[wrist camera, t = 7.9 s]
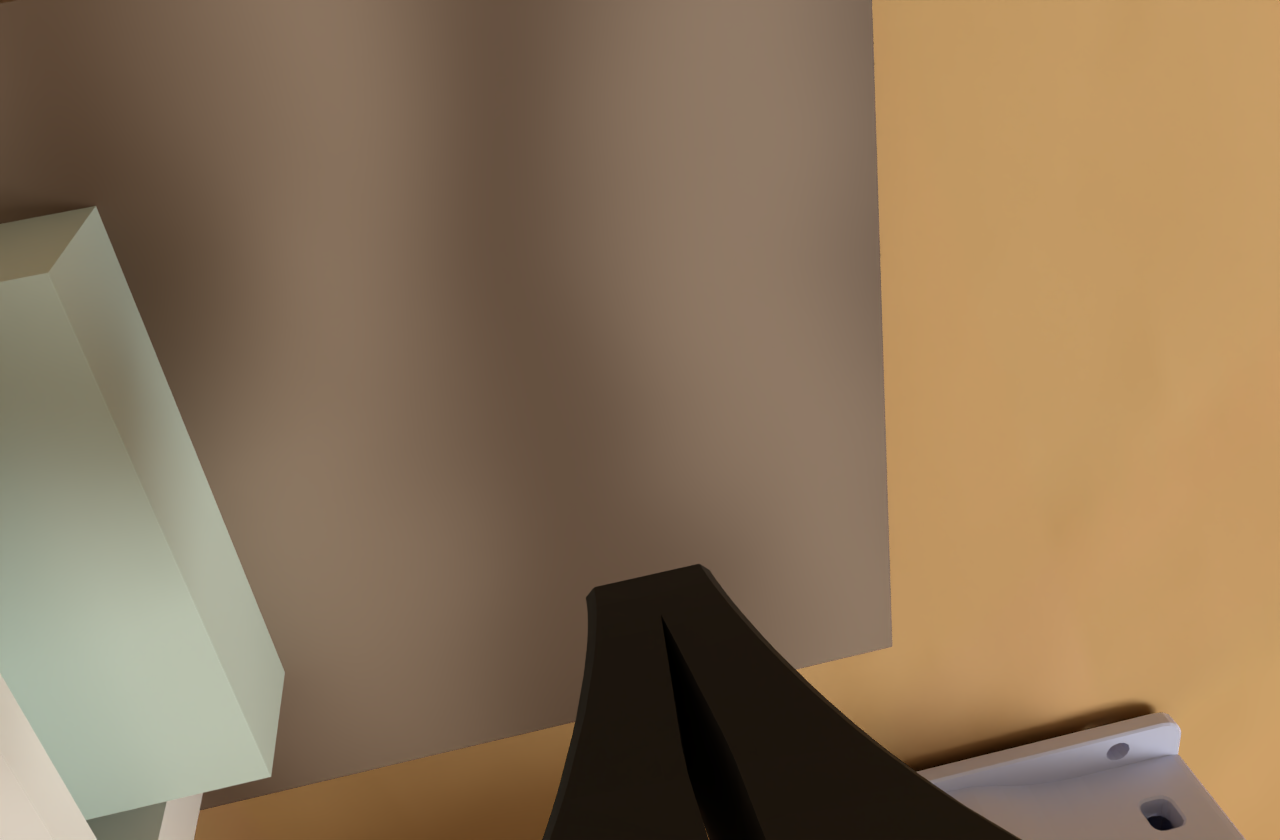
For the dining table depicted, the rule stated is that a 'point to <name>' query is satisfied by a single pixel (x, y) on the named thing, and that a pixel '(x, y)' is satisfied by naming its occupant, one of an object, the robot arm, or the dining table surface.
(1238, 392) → the dining table surface
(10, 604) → the sage tile
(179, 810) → the white rounded block
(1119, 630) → the dining table surface
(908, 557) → the dining table surface
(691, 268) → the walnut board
